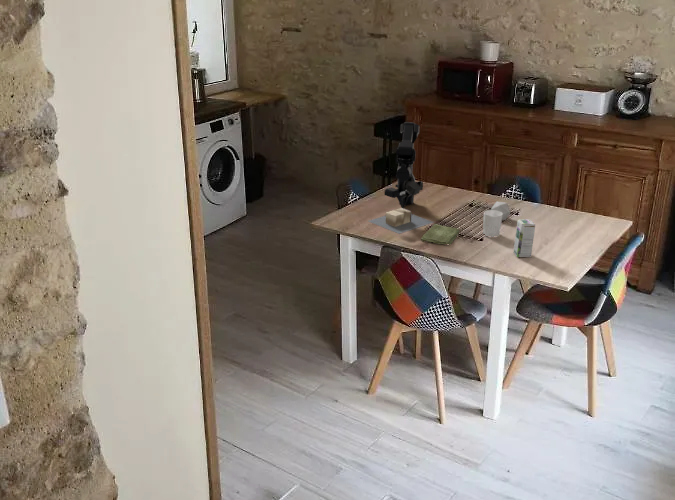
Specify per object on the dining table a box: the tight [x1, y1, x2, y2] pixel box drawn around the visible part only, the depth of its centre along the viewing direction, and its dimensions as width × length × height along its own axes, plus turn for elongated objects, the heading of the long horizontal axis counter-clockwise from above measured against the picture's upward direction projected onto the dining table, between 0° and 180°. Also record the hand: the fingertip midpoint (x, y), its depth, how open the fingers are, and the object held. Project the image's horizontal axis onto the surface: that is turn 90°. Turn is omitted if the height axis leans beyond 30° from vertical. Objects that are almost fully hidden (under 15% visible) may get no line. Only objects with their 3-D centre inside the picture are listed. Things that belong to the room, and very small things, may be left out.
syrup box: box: [513, 218, 536, 258], centre depth 280 cm, size 6×6×14 cm
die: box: [490, 200, 511, 221], centre depth 320 cm, size 8×9×10 cm
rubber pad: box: [367, 213, 435, 235], centre depth 314 cm, size 22×20×1 cm
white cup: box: [482, 209, 503, 238], centre depth 301 cm, size 8×8×10 cm
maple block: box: [385, 207, 412, 227], centre depth 312 cm, size 5×6×10 cm
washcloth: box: [420, 223, 460, 246], centre depth 300 cm, size 13×18×3 cm
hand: (402, 207), depth 312 cm, fingers closed
